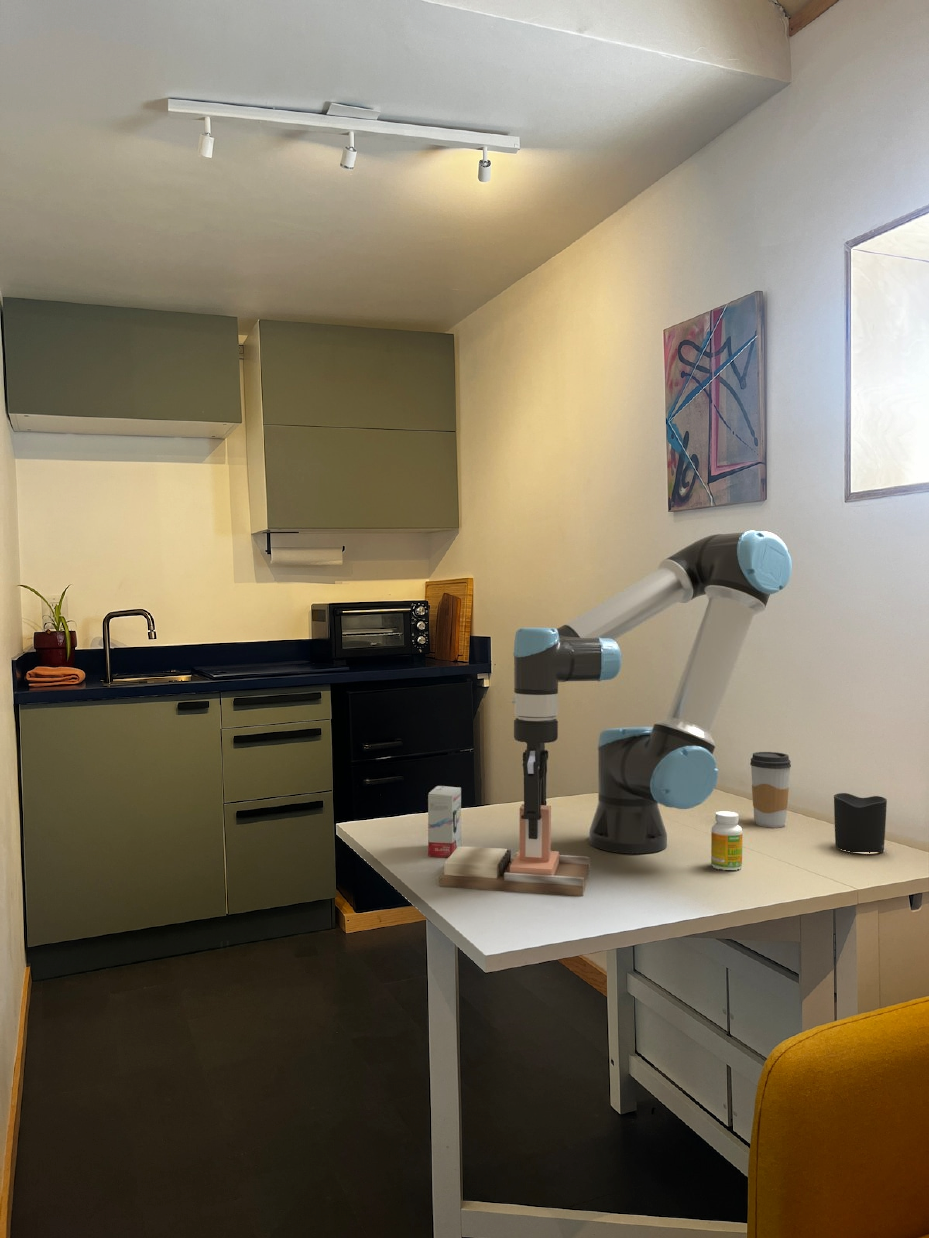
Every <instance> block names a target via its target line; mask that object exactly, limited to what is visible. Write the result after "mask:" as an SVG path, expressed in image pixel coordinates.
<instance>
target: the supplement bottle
mask: <svg viewBox="0 0 929 1238" xmlns="http://www.w3.org/2000/svg"><path fill="white" fill-rule="evenodd" d="M714 819H715V822H716V823H714V824H713V825H712V826H711V830H710V831H711V834H710V835H711V836H710V837H711V842H710V845H711V846H710V847H711V848H710V849H711V851H710V855H711V856H710V858H711V859H710V865H711V866H713V867H712V868H714V869H716V870H719V869H723V870H722V871H725V870H736V869H739V870H741V869H742V868H743V867H742V866H743V829H742V826H740V825H739V824H738V823H739V813H737V812H733V811H726V810H724V811H723V810H721V811H716V812H715V817H714ZM736 871H737V870H736Z"/></svg>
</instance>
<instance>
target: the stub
mask: <svg viewBox="0 0 929 1238" xmlns="http://www.w3.org/2000/svg"><path fill="white" fill-rule="evenodd" d="M551 813H552V806H551V805H547V804H546V805H541V818H540V819H542V857H541V858H537V857H525V850H526V819H521V815H524V803H522V804H521V805H520V807H519V831H518V832H519V844H518V845H519V849H518V851H517V852H518V853H517V852H516V853H517V855H516V854H515V857H513V858H514V860H513V862H512V864H511V866H510V873H523V874H538V875H554V874H555V871H556V869H557V866H558V864H559V855H560V851H558V850H556V851H555V850H554V851H553V850H552V849H551V847H552V845H551V844H552V843H551V842H552V841H551V840H552V835H551V834H552V830H551V829H552V824H551V823H552V821H551V819H552V814H551Z"/></svg>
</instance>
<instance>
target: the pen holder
mask: <svg viewBox="0 0 929 1238" xmlns="http://www.w3.org/2000/svg"><path fill="white" fill-rule="evenodd" d="M887 800H888V799H887V798H885V797H883V796H879V795H873V796H868V797H859V796H856V795H854V794H851V793H847V792H841V793H839V792H838V793H836V794H834V795H833V810H834V812H833V813H834V818H833V819H834V842H835V847H836V848H837V847H838V848H839V849H838V848H837V849H838V850H840V849H842V850H846V851H850V852H869V853H870V852H881V851H882V852H883V851H884V850H885V838H886V823H887V808H888V807H887V803H888V802H887ZM842 850H841V851H842Z"/></svg>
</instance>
